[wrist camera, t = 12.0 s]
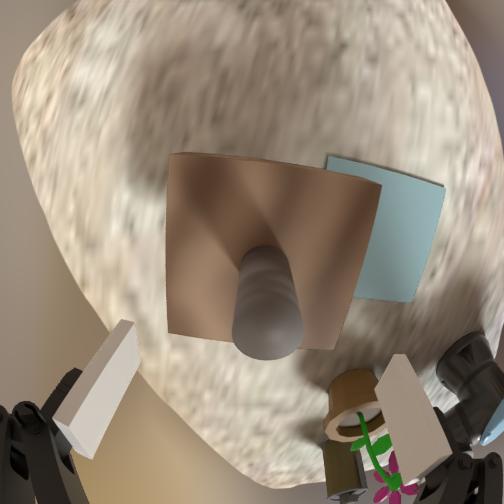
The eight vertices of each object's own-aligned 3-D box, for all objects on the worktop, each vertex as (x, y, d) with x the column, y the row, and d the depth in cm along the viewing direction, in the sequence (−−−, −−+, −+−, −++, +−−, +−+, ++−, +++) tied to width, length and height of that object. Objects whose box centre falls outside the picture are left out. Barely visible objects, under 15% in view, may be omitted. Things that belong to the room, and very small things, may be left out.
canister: (340, 453, 61) (348, 508, 42) (313, 449, 60) (318, 509, 41) (366, 436, 57) (380, 495, 39) (339, 431, 56) (350, 497, 37)
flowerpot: (361, 408, 52) (387, 519, 24) (306, 401, 51) (318, 530, 23) (397, 365, 47) (446, 488, 19) (340, 355, 46) (377, 507, 18)
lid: (362, 177, 24) (444, 212, 12) (324, 323, 30) (353, 416, 18) (185, 152, 23) (116, 164, 11) (179, 307, 30) (142, 398, 18)
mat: (444, 187, 34) (446, 188, 34) (410, 301, 41) (411, 302, 41) (328, 155, 34) (328, 155, 34) (301, 289, 41) (301, 291, 41)
